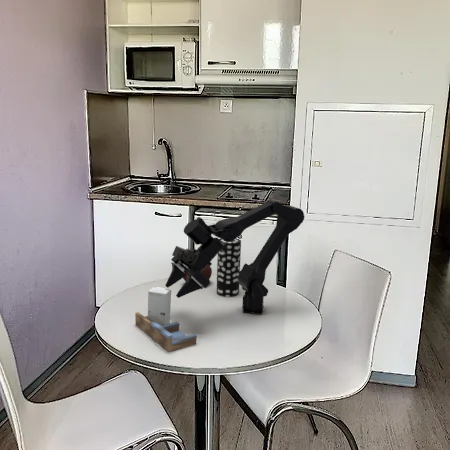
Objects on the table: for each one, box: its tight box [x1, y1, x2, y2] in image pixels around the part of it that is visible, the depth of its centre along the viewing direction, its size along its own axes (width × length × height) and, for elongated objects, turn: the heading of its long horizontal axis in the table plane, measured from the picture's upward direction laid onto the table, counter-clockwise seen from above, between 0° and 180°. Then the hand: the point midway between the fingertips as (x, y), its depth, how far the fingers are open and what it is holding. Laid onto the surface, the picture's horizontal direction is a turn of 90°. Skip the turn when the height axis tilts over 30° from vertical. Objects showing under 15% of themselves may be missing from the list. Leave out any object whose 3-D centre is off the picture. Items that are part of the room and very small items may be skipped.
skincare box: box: [147, 286, 172, 326], centre depth 150 cm, size 6×4×12 cm
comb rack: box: [135, 311, 198, 353], centre depth 146 cm, size 21×9×5 cm, turn 36°
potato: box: [182, 265, 213, 282], centre depth 188 cm, size 9×12×9 cm
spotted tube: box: [216, 237, 242, 298], centre depth 179 cm, size 8×8×20 cm
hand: (171, 291), depth 151 cm, fingers open, 9 cm apart
